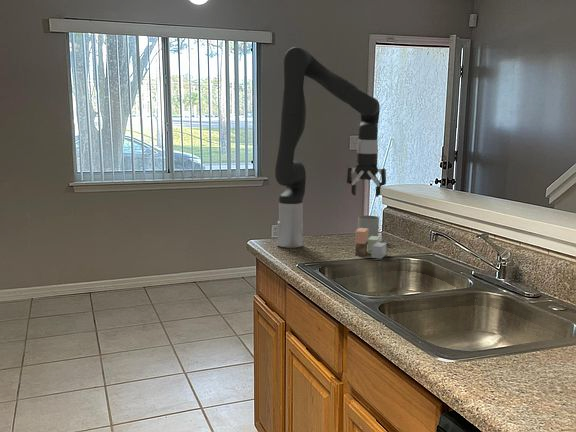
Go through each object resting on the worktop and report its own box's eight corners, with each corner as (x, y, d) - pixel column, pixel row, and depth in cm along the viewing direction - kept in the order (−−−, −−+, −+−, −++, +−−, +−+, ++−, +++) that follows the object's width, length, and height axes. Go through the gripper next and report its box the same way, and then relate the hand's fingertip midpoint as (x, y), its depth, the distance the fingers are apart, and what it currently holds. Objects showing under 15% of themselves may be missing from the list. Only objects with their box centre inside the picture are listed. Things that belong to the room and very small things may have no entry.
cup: (353, 239, 233) (354, 216, 231) (370, 238, 236) (371, 214, 234) (364, 243, 225) (365, 219, 223) (382, 242, 228) (382, 218, 227)
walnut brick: (355, 255, 206) (355, 243, 205) (357, 251, 212) (358, 239, 211) (364, 255, 205) (365, 243, 204) (367, 251, 211) (367, 240, 211)
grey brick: (371, 257, 202) (372, 245, 201) (376, 254, 208) (377, 242, 207) (381, 258, 200) (381, 246, 200) (386, 254, 207) (386, 243, 206)
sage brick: (367, 250, 213) (368, 239, 212) (370, 247, 220) (370, 235, 219) (376, 251, 212) (377, 240, 211) (379, 247, 219) (379, 236, 218)
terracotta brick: (354, 243, 205) (355, 231, 204) (359, 239, 212) (359, 227, 211) (364, 243, 204) (364, 231, 203) (368, 240, 210) (368, 228, 210)
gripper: (346, 152, 204) (344, 195, 207) (384, 153, 199) (382, 198, 202) (350, 151, 211) (349, 193, 214) (388, 152, 206) (386, 195, 209)
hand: (365, 195), depth 208 cm, fingers open, 8 cm apart
